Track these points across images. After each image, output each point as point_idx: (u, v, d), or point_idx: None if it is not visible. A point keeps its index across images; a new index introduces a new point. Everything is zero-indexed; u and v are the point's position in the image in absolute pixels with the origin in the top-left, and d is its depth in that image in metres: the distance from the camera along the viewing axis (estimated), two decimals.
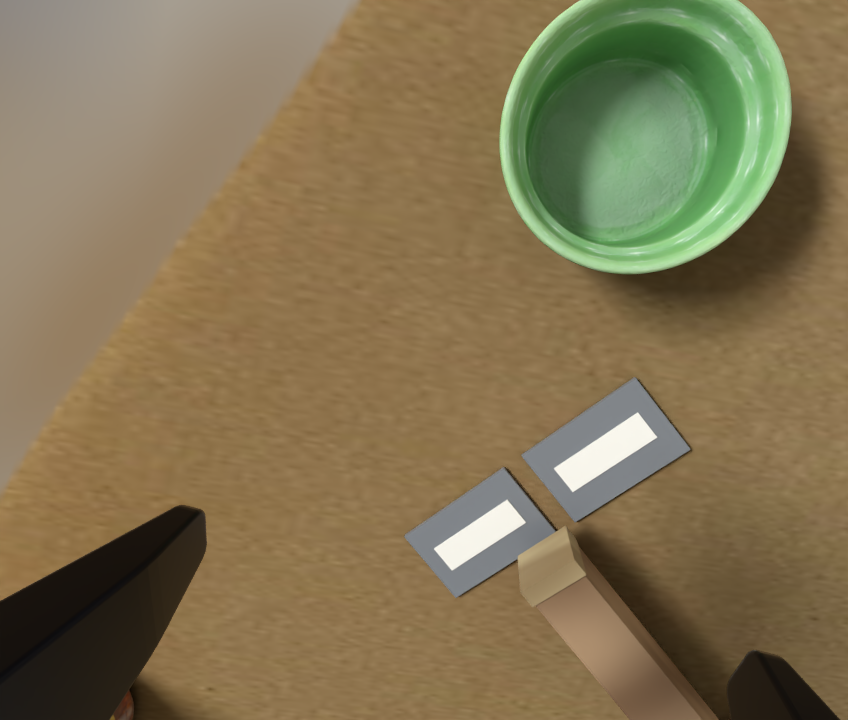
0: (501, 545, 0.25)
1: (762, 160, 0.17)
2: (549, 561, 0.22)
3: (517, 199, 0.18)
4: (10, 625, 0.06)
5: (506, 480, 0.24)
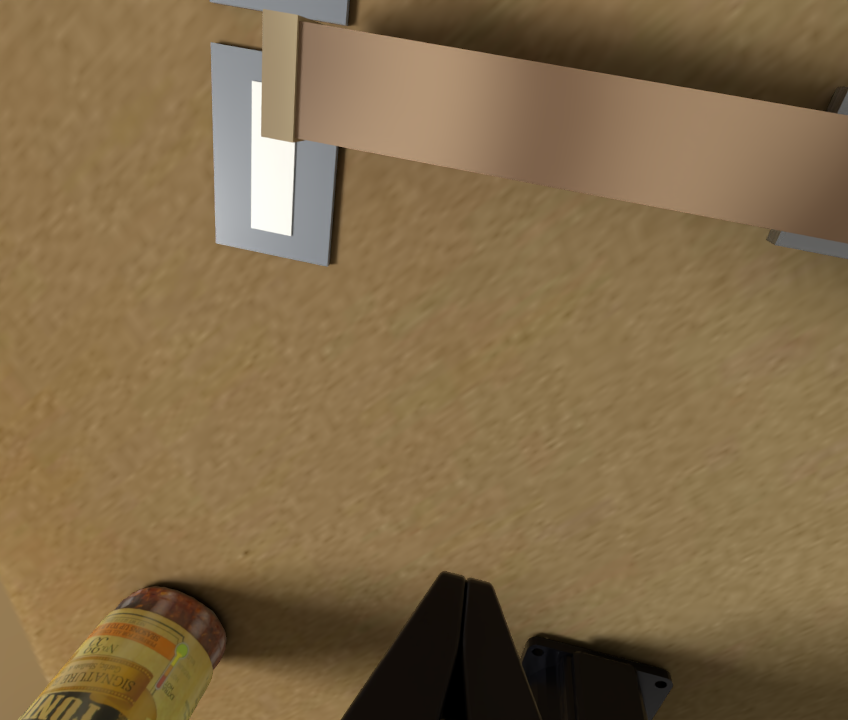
0: (304, 150, 0.16)
1: None
2: None
3: None
4: None
5: (227, 56, 0.15)
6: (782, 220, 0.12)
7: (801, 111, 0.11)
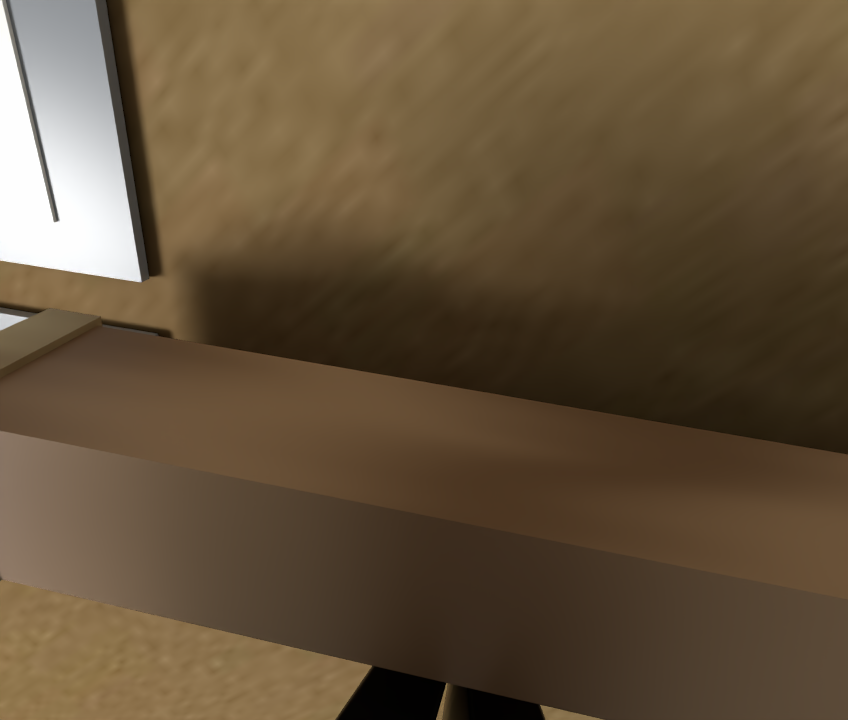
0: None
1: None
2: None
3: None
4: None
5: None
6: None
7: None
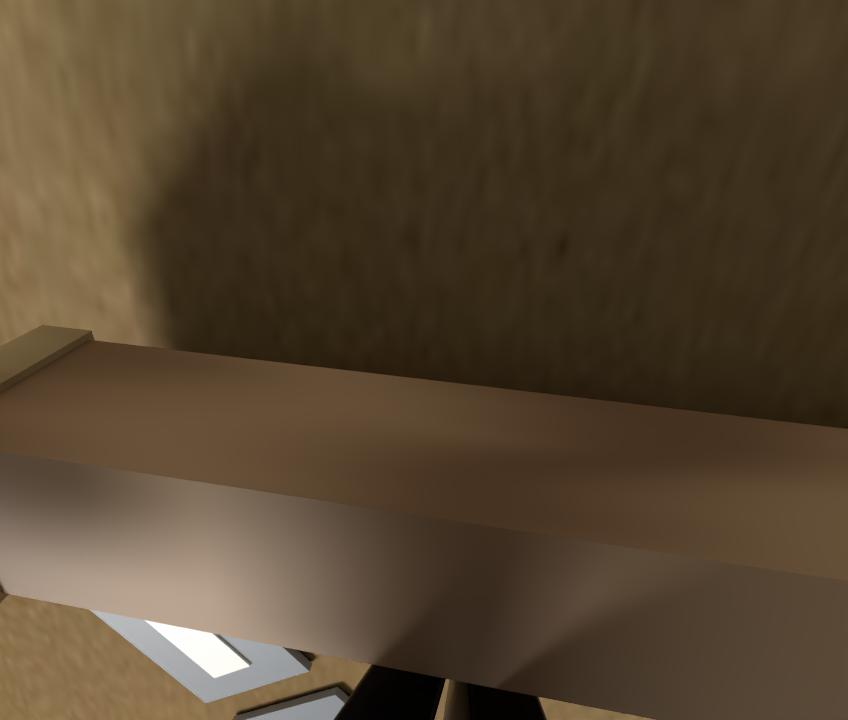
0: None
1: None
2: None
3: None
4: None
5: None
6: None
7: None
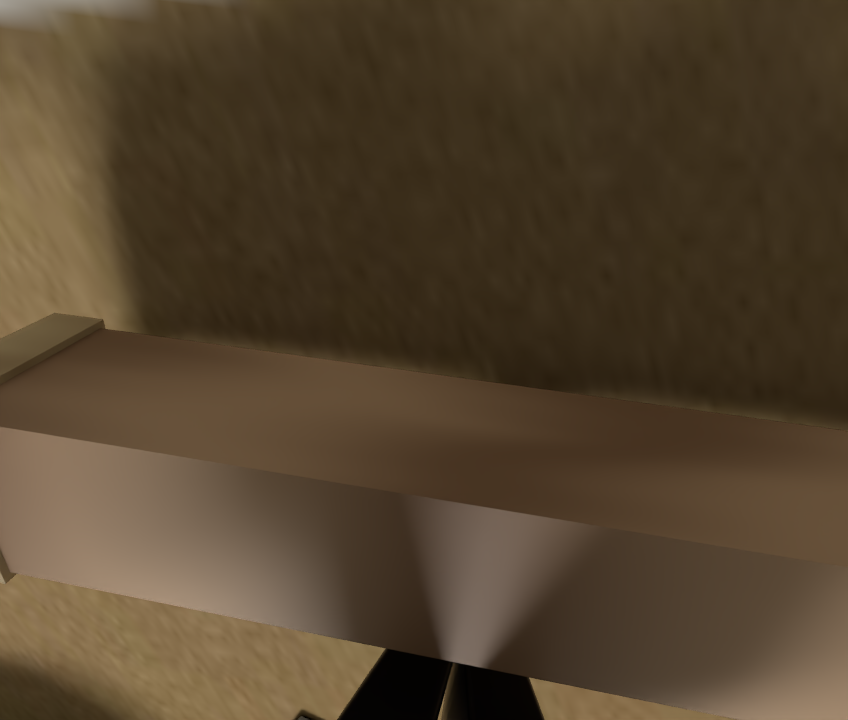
0: None
1: None
2: None
3: None
4: None
5: None
6: None
7: None
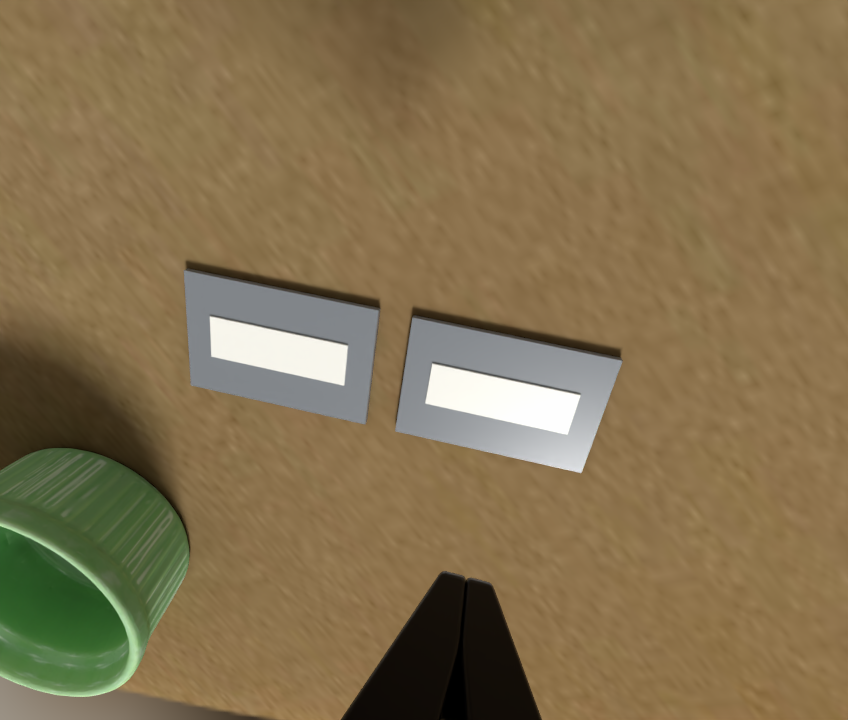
0: (489, 365, 0.15)
1: None
2: None
3: (132, 660, 0.18)
4: None
5: (405, 419, 0.17)
6: None
7: None
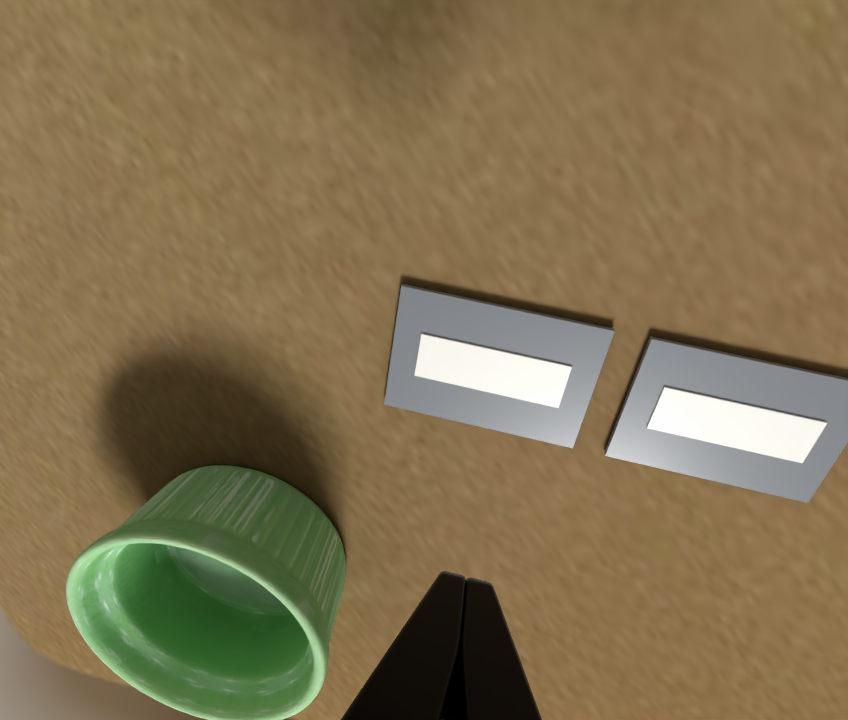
0: (728, 390, 0.15)
1: None
2: None
3: (314, 690, 0.17)
4: None
5: (619, 444, 0.16)
6: None
7: None
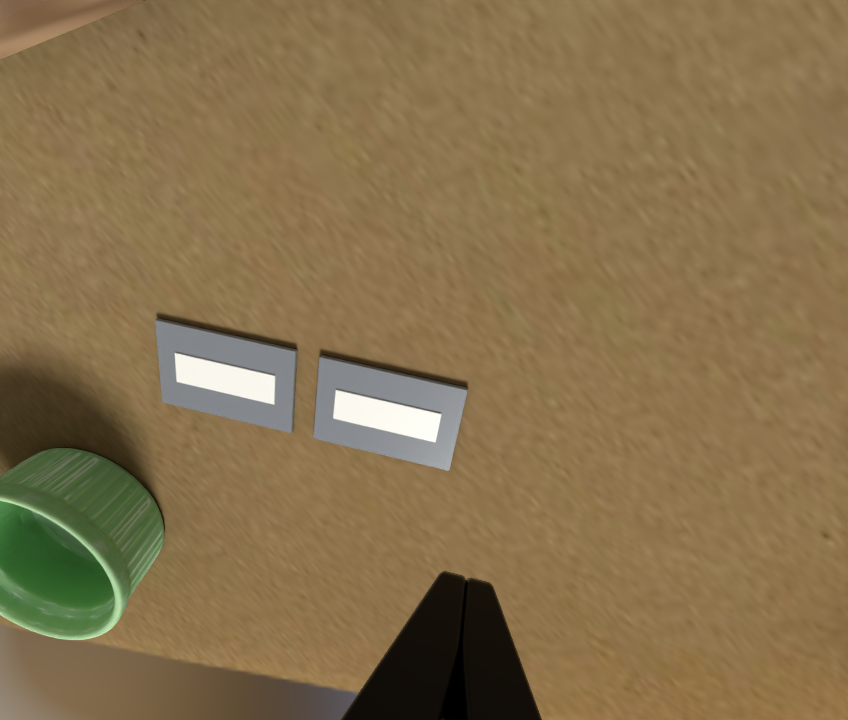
0: (376, 392, 0.21)
1: None
2: None
3: (117, 609, 0.24)
4: None
5: (320, 430, 0.23)
6: None
7: None
